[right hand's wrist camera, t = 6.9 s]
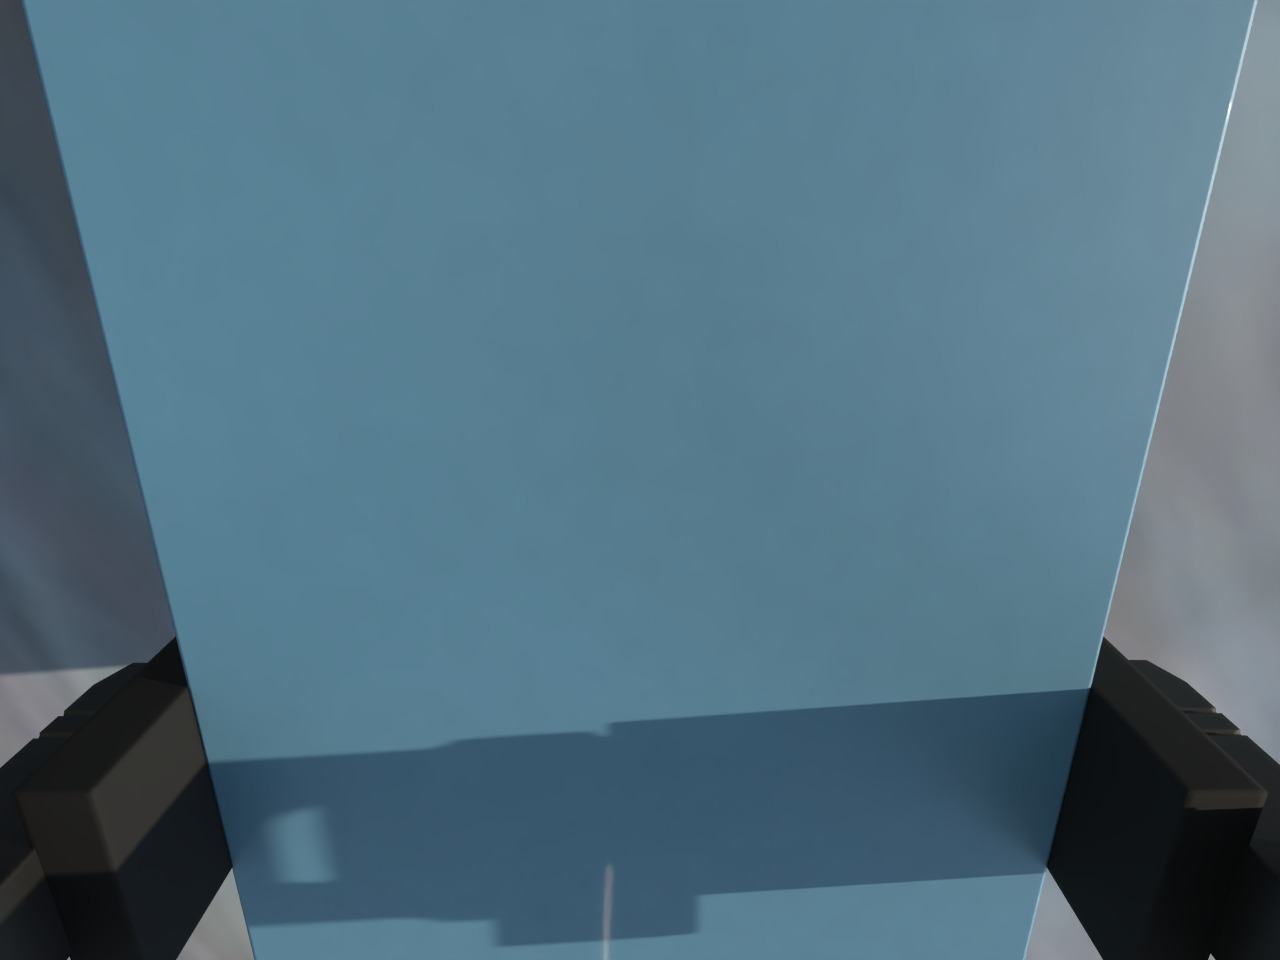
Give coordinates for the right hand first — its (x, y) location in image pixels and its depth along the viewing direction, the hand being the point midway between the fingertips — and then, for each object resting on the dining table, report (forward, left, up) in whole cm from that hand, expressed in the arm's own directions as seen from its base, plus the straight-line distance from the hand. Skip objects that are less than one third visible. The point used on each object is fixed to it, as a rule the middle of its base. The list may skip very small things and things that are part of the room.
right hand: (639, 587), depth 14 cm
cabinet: (+5, +5, -5) cm, 9 cm away
